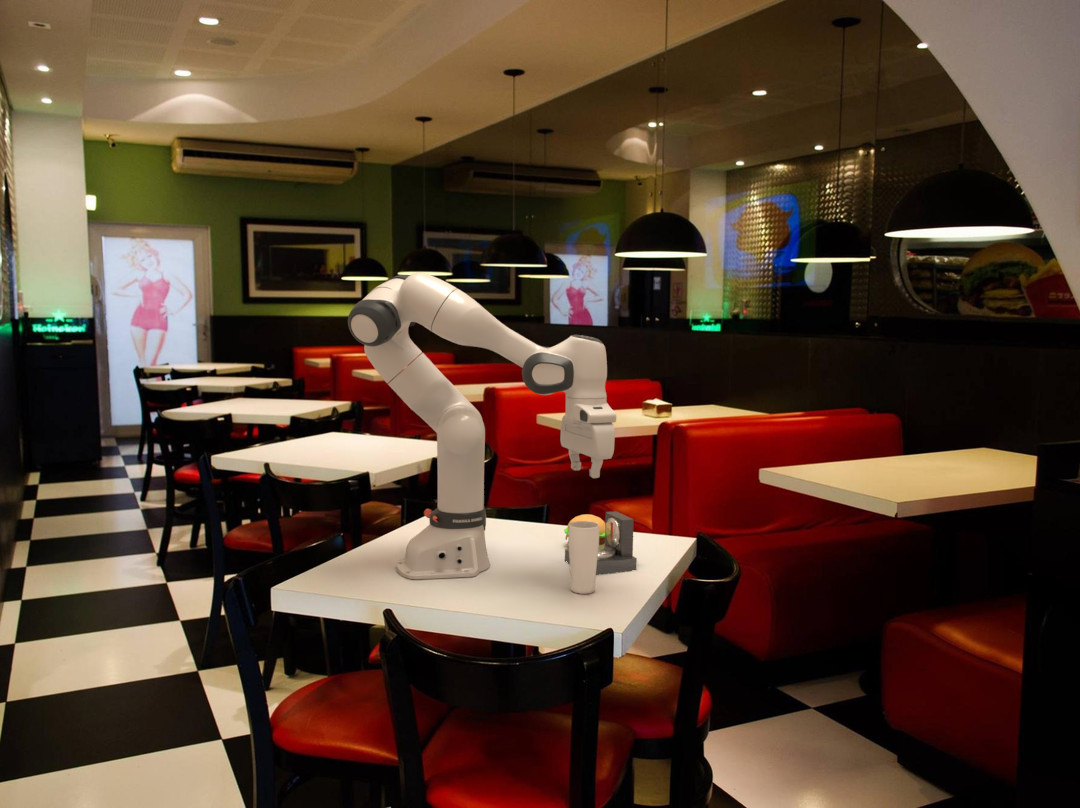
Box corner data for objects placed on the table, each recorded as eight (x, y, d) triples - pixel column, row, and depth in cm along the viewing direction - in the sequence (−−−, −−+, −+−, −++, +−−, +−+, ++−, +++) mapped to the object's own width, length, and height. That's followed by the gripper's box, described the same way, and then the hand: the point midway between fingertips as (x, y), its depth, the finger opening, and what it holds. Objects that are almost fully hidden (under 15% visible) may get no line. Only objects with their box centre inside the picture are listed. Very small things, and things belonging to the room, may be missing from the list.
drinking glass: (563, 593, 185) (564, 526, 183) (573, 584, 191) (574, 519, 190) (592, 597, 182) (594, 529, 181) (602, 588, 189) (603, 522, 187)
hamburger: (619, 547, 223) (619, 515, 222) (589, 556, 214) (590, 523, 213) (584, 539, 231) (584, 508, 230) (554, 547, 222) (555, 515, 221)
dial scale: (587, 576, 198) (588, 525, 196) (564, 560, 210) (565, 513, 208) (636, 570, 202) (637, 521, 201) (611, 556, 214) (612, 509, 213)
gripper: (553, 406, 191) (553, 466, 193) (592, 416, 172) (591, 483, 174) (579, 405, 194) (578, 464, 195) (620, 415, 175) (619, 481, 176)
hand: (585, 473), depth 184 cm, fingers open, 8 cm apart
